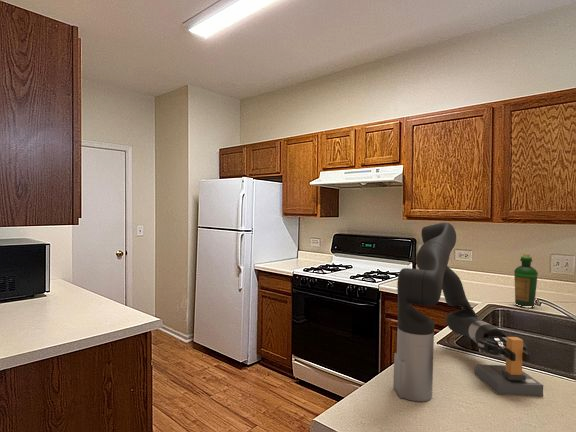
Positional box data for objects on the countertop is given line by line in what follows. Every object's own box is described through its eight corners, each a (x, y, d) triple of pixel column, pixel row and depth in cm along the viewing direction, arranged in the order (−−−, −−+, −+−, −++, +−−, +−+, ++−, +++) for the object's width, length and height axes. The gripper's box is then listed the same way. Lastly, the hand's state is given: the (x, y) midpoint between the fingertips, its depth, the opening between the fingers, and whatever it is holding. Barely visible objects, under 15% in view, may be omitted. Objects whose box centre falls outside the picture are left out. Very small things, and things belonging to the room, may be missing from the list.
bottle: (509, 303, 201) (511, 252, 200) (531, 304, 199) (533, 253, 198) (517, 308, 190) (519, 255, 190) (540, 309, 188) (542, 256, 188)
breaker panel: (498, 394, 97) (498, 383, 97) (474, 373, 110) (475, 364, 110) (543, 396, 97) (543, 384, 97) (514, 375, 110) (514, 365, 110)
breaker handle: (509, 379, 99) (510, 340, 99) (501, 373, 102) (503, 336, 102) (525, 380, 99) (527, 341, 99) (517, 374, 102) (518, 336, 102)
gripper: (464, 323, 115) (495, 343, 98) (509, 324, 115) (547, 344, 98) (463, 346, 115) (494, 370, 98) (508, 348, 115) (546, 372, 98)
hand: (520, 357), depth 98 cm, fingers closed on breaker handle, 3 cm apart
